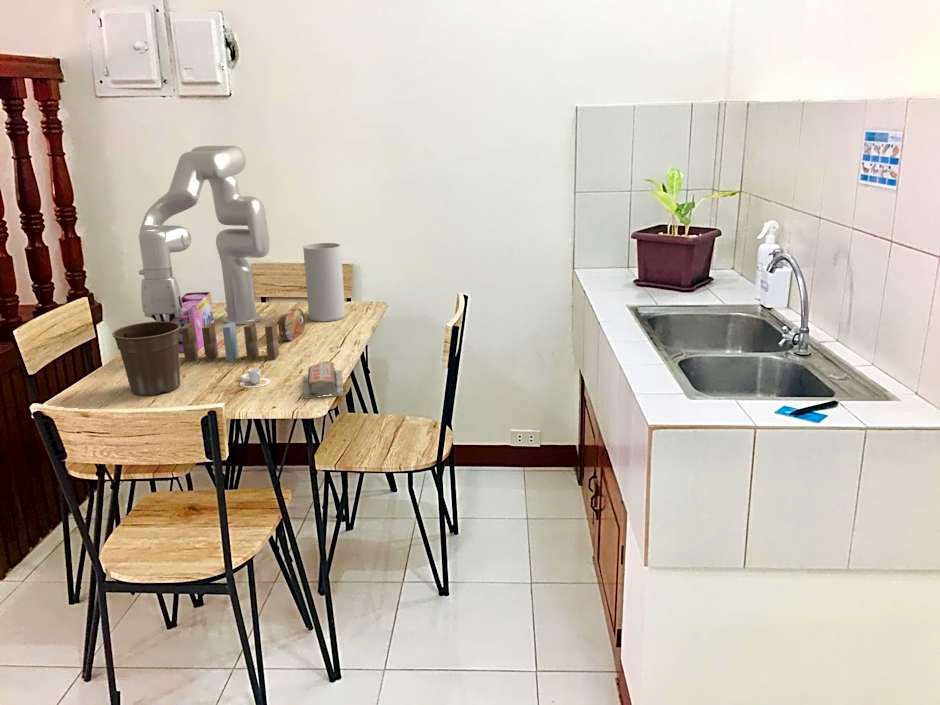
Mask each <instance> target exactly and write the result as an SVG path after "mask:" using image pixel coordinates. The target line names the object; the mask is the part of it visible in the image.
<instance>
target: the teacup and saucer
mask: <svg viewBox="0 0 940 705" xmlns="http://www.w3.org/2000/svg"><path fill="white" fill-rule="evenodd" d="M247 372H248V373H244V374H241V375H240V380H241V381H240V383H239V386H240V387H242V388H246V389H247V388H248V389H249V388H250V389H253V388H261V387H264V386H267V385H269V384H270V383H271V379H270V378H266V377H261V376H262V375H261V368H260V367H252V368H249V369H247ZM261 381H265V383H263V384H260V383H261ZM245 383H250V384H252V385H253V386H249V385H245ZM258 384H260V385H258ZM254 385H255V386H254Z"/></svg>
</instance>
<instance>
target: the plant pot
mask: <svg viewBox="0 0 940 705" xmlns="http://www.w3.org/2000/svg"><path fill="white" fill-rule="evenodd" d="M179 329H180V325H179V324H178V323H175V322H168V321H147V322H140V323H139V322H138V323H134V324H130V325H126V326H125V325H124V326H122V327H120V328H117V329H116V330H114V331H113V332H112V333H111V334H112V337H113V338H114V339H115V342H116V346H117V349H118V350H119V352H120V356H121V359H122V362H123V363H122V364H123V366H124V370H125V373H126V377H127V380H128V385H129V388H130V392H131V393H132V394H133V395H137V396H143V397H144V396H146V397H147V396H156V395H161V393H163V392H164V393H169V392H172V391H175V390H176V389H178V388H179V387H180V386H181V373H180V355H179V353H180V352H179V351H178V342H179Z"/></svg>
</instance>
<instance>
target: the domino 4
mask: <svg viewBox="0 0 940 705" xmlns="http://www.w3.org/2000/svg"><path fill="white" fill-rule="evenodd" d="M243 333H244V340H245V341H244V343H245V352H246V360H247V361H256V359H257V358H258V357H259V355H260V351H259V343H258V341H259V340H258V331H257V322H248V323H247V324H244V326H243Z"/></svg>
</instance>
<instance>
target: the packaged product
mask: <svg viewBox="0 0 940 705" xmlns="http://www.w3.org/2000/svg"><path fill="white" fill-rule="evenodd" d="M335 369H336V367H335V364H334V362H333V361H328V360H327V361H326V360H325V361H322V362H318V363H315V364H313V365H311V366H309V367H308V369H307V370H308V373H305V374H304V384H303V399H304V398H306V397H318V396H323V395H329V394H332V395H337V396H336V397H342V396H343V395H344V384H343V383H344V381H343V380H344V379H343V378H344V376H343V370H342V369H336V370H335ZM306 399H307V398H306Z"/></svg>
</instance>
